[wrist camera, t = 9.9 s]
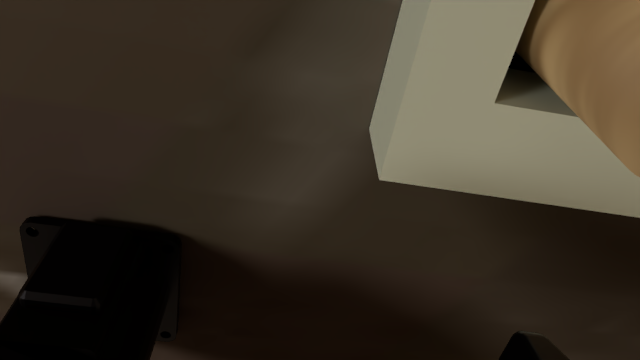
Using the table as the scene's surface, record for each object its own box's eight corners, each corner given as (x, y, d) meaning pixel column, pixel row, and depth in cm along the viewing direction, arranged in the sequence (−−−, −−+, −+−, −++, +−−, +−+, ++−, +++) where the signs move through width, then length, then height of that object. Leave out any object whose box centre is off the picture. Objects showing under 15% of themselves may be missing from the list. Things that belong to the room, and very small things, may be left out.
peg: (580, 65, 18) (733, 195, 12) (483, 48, 18) (585, 173, 11) (631, -42, 16) (850, 40, 10) (524, -63, 16) (675, 6, 9)
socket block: (613, 166, 21) (662, 221, 18) (369, 129, 20) (379, 180, 17) (799, -157, 15) (920, -155, 12) (464, -237, 14) (505, -257, 11)
